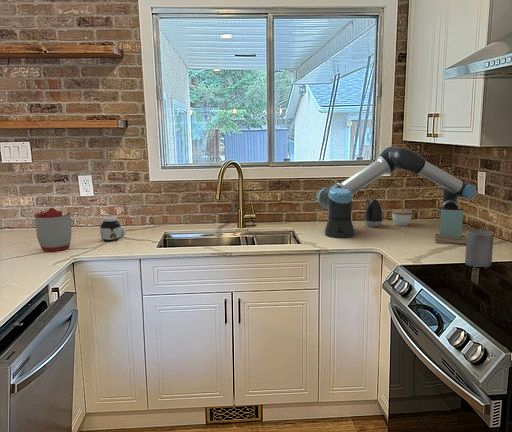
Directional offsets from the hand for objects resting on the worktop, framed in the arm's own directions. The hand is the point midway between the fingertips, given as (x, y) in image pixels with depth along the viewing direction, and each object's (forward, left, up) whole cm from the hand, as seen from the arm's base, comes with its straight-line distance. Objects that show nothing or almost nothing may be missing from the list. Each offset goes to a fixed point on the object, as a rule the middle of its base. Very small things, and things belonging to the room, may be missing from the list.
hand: (452, 215), depth 240 cm
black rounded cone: (-40, -11, -10) cm, 43 cm away
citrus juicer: (-111, -160, -10) cm, 195 cm away
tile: (+2, -5, -3) cm, 6 cm away
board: (+5, -10, -10) cm, 15 cm away
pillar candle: (+33, -41, -10) cm, 53 cm away
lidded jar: (-31, +3, -10) cm, 33 cm away
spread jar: (-111, -132, -10) cm, 172 cm away
